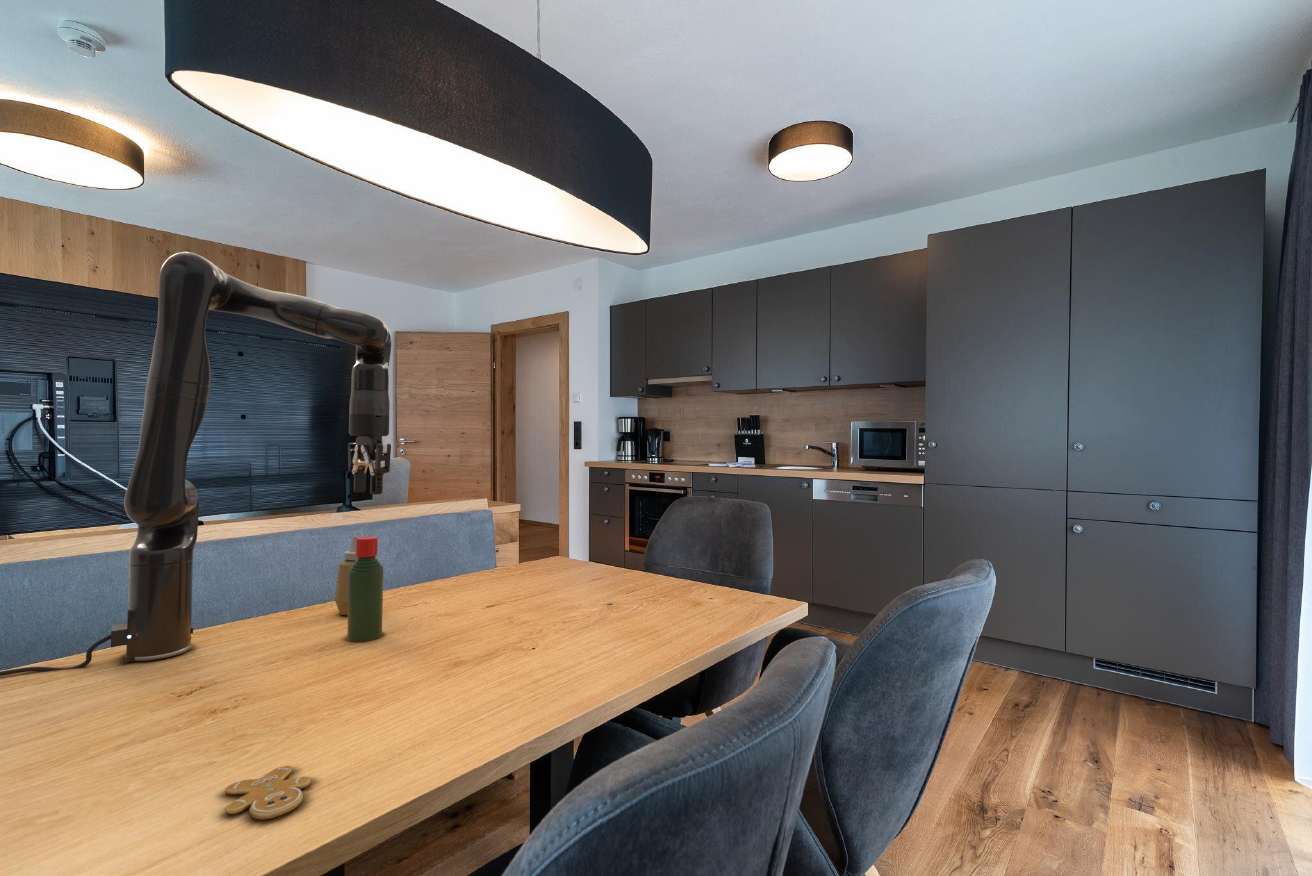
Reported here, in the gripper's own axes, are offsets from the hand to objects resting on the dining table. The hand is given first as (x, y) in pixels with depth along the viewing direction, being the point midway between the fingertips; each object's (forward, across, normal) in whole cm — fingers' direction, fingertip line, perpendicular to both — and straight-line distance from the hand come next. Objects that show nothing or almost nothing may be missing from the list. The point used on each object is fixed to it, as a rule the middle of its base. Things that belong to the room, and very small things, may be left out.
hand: (367, 492), depth 120 cm
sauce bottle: (+30, 0, 0) cm, 30 cm away
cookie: (+30, +47, -33) cm, 65 cm away
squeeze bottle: (+30, -19, +6) cm, 36 cm away
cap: (+13, 0, 0) cm, 13 cm away
